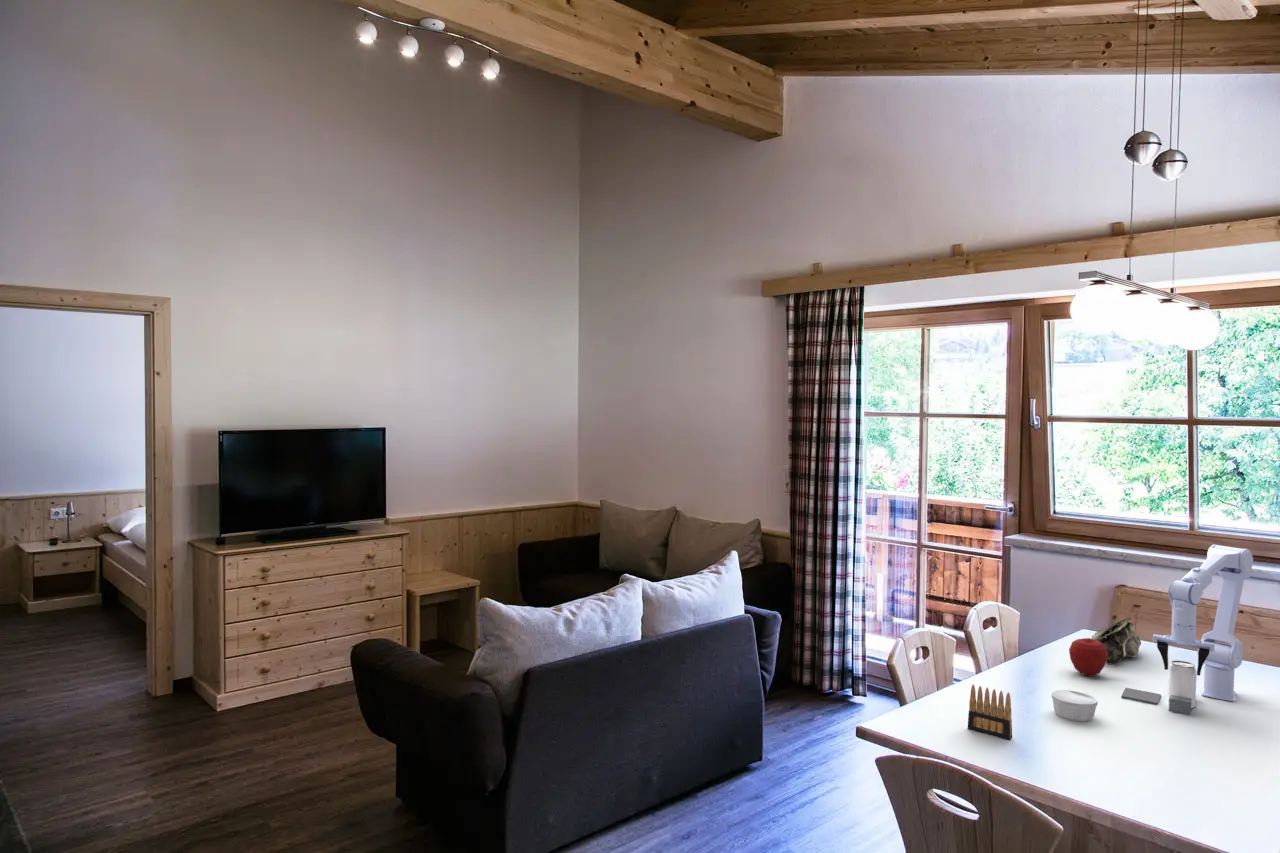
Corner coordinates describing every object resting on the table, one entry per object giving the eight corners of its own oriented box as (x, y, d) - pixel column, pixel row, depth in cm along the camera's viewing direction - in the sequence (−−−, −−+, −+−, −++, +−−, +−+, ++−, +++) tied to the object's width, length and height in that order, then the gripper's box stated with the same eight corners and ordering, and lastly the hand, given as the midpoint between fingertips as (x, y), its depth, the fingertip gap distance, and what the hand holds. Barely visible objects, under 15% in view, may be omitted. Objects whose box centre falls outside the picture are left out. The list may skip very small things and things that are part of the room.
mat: (1125, 689, 250) (1125, 687, 250) (1160, 696, 245) (1160, 694, 245) (1121, 697, 243) (1121, 695, 243) (1157, 705, 237) (1157, 702, 237)
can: (1199, 710, 234) (1200, 667, 233) (1174, 708, 235) (1175, 666, 235) (1189, 701, 240) (1190, 660, 240) (1164, 700, 241) (1165, 659, 241)
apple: (1071, 666, 271) (1072, 631, 271) (1109, 673, 265) (1110, 636, 265) (1065, 675, 262) (1066, 638, 262) (1104, 682, 256) (1105, 644, 256)
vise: (1174, 693, 247) (1174, 682, 247) (1194, 697, 244) (1195, 685, 244) (1168, 710, 233) (1169, 698, 233) (1190, 715, 230) (1190, 702, 230)
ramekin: (1102, 715, 229) (1102, 696, 229) (1090, 727, 221) (1091, 707, 221) (1058, 705, 237) (1058, 686, 237) (1045, 715, 229) (1046, 696, 229)
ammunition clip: (1012, 738, 213) (1013, 692, 213) (1010, 740, 212) (1011, 694, 211) (969, 727, 220) (970, 682, 220) (967, 729, 219) (968, 684, 218)
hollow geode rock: (1104, 681, 272) (1141, 655, 264) (1074, 648, 277) (1110, 622, 270) (1128, 659, 292) (1163, 635, 284) (1100, 629, 298) (1133, 604, 290)
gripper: (1152, 622, 236) (1150, 670, 236) (1214, 631, 227) (1212, 680, 228) (1154, 617, 241) (1153, 663, 242) (1215, 626, 233) (1214, 674, 233)
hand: (1182, 671), depth 235 cm, fingers open, 7 cm apart
